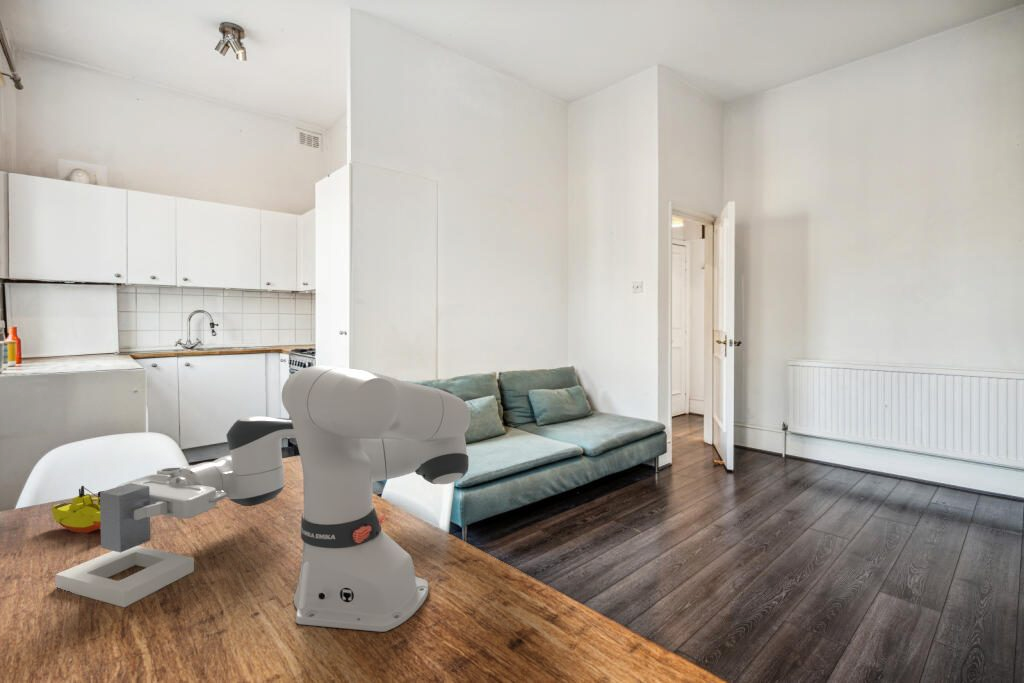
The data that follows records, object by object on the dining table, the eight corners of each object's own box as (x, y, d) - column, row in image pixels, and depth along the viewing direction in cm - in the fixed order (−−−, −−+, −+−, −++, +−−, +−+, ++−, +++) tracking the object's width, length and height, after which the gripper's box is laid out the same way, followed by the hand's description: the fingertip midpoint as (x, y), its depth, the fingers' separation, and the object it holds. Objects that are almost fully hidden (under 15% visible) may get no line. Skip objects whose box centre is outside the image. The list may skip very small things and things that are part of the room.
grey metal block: (150, 540, 88) (149, 486, 87) (120, 552, 83) (119, 495, 82) (131, 536, 89) (130, 483, 89) (101, 547, 84) (99, 492, 84)
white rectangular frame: (193, 571, 89) (193, 557, 89) (124, 607, 78) (124, 592, 77) (130, 556, 94) (129, 543, 94) (56, 588, 83) (55, 574, 83)
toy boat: (105, 541, 101) (104, 494, 100) (38, 533, 104) (37, 487, 104) (135, 528, 107) (134, 484, 106) (71, 521, 110) (70, 478, 110)
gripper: (232, 509, 95) (162, 539, 82) (159, 496, 101) (82, 522, 88) (232, 478, 95) (161, 503, 81) (158, 467, 101) (82, 488, 88)
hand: (120, 512), depth 85 cm, fingers closed on grey metal block, 5 cm apart
